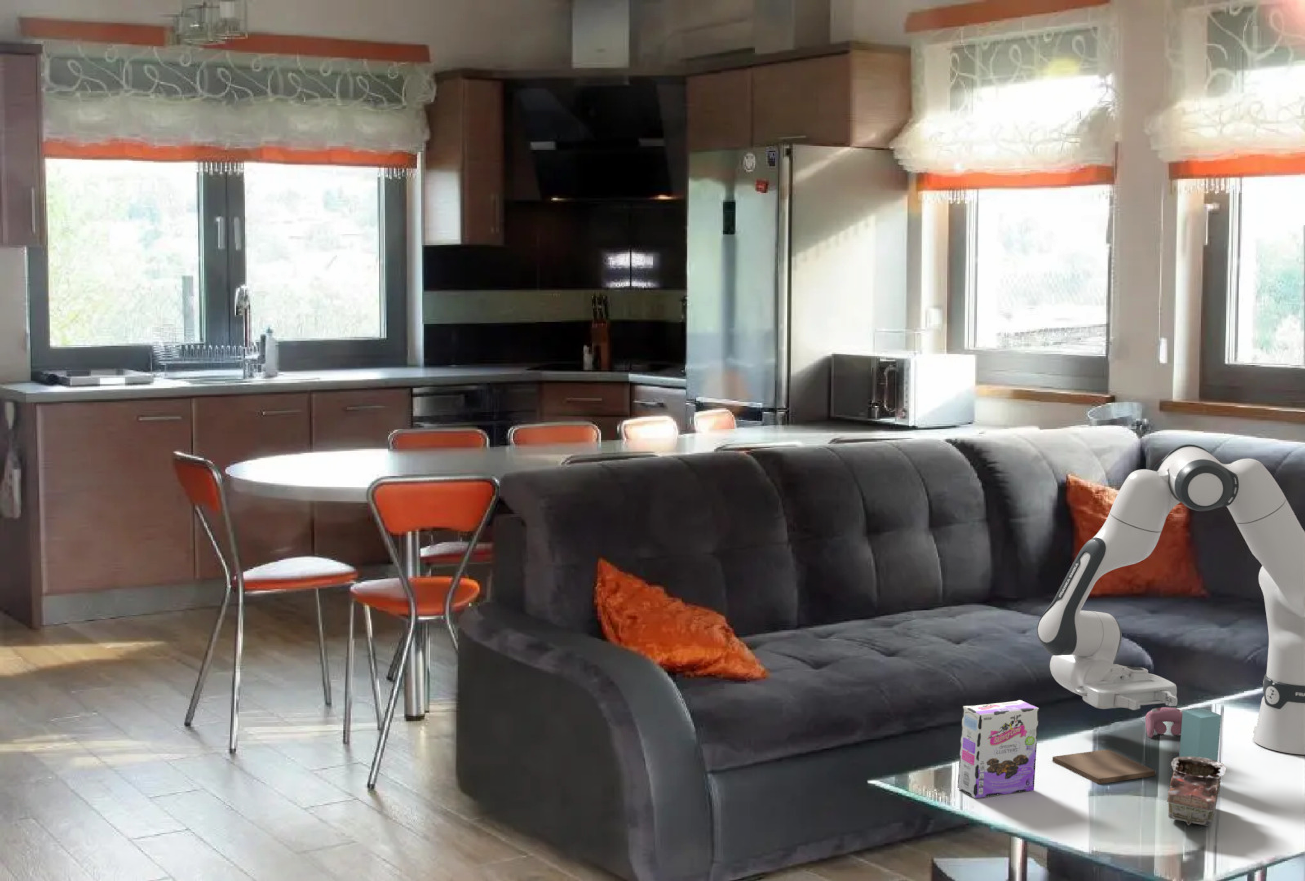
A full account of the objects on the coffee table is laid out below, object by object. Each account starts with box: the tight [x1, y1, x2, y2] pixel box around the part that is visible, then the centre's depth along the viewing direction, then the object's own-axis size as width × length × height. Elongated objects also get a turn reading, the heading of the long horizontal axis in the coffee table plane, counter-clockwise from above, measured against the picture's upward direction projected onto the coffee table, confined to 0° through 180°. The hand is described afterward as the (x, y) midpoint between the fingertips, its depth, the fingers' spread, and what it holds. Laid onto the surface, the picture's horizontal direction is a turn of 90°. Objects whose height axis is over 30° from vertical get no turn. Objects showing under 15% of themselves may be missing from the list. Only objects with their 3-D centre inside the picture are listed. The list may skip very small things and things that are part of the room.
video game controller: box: [1144, 706, 1184, 739], centre depth 355 cm, size 10×5×7 cm, turn 84°
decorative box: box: [1166, 756, 1235, 827], centre depth 304 cm, size 13×20×10 cm, turn 152°
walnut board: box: [1051, 748, 1156, 785], centre depth 332 cm, size 14×14×1 cm
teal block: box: [1178, 707, 1222, 762], centre depth 324 cm, size 5×5×14 cm
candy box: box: [957, 699, 1040, 799], centre depth 317 cm, size 14×6×16 cm, turn 114°
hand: (1156, 704), depth 335 cm, fingers open, 8 cm apart
